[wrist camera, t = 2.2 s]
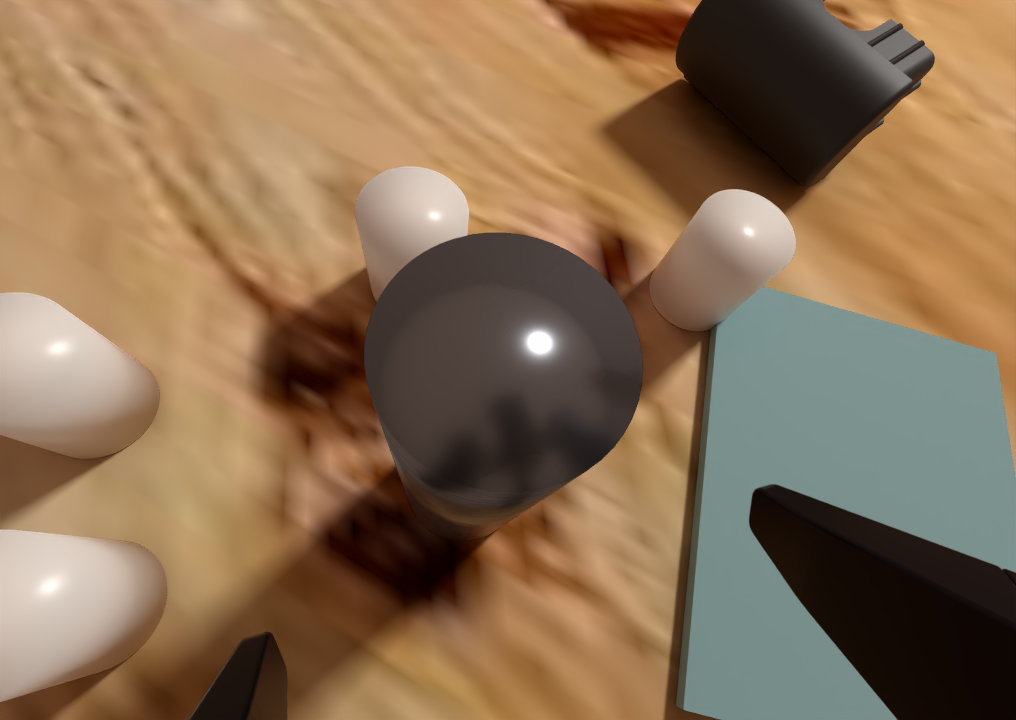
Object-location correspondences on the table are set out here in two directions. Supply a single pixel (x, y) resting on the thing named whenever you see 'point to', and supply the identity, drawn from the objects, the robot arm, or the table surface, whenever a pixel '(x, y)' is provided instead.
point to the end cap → (799, 76)
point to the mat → (828, 488)
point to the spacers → (135, 399)
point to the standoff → (498, 377)
